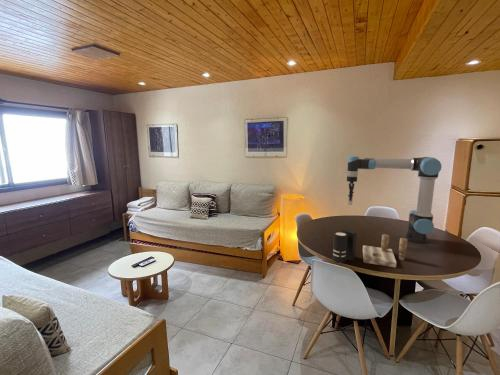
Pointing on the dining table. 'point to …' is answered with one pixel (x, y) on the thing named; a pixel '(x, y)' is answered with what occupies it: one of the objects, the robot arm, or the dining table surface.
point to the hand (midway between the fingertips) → (350, 203)
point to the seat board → (379, 254)
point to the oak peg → (402, 248)
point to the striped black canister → (344, 246)
